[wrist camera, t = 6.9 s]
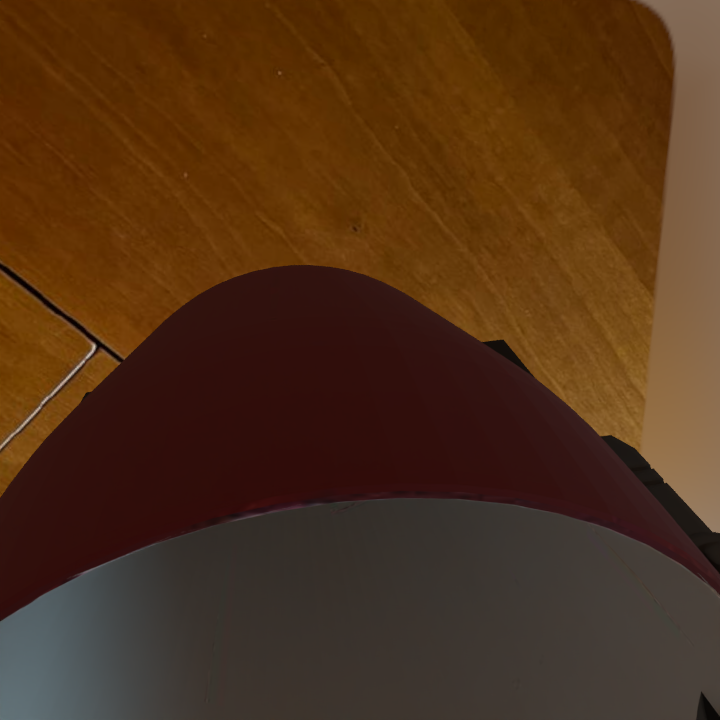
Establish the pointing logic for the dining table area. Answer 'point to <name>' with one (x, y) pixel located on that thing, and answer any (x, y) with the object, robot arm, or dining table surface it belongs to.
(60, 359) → the dining table surface
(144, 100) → the dining table surface
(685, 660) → the mug
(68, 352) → the dining table surface
